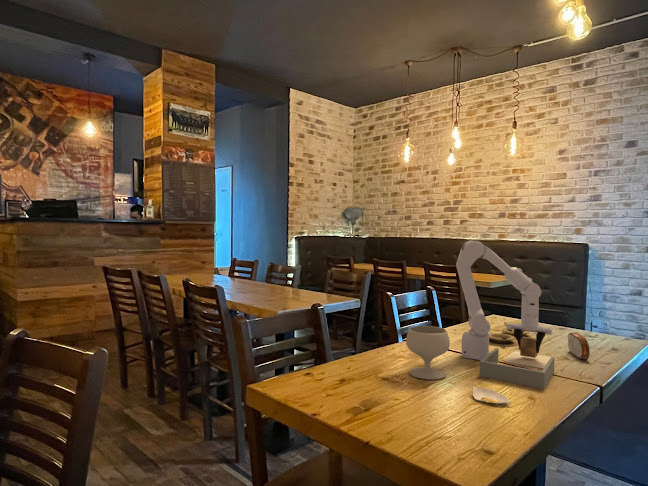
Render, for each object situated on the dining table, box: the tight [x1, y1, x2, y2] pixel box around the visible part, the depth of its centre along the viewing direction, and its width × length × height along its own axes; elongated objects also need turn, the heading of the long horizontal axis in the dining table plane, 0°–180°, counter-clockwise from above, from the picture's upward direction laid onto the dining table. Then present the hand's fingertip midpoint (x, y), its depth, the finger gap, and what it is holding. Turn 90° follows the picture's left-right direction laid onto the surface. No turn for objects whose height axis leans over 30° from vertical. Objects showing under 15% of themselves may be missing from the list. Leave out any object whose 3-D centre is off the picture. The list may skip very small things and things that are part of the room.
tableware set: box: [489, 321, 533, 351], centre depth 188 cm, size 30×20×6 cm, turn 135°
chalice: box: [405, 325, 451, 381], centre depth 140 cm, size 14×14×15 cm
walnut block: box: [519, 337, 539, 358], centre depth 157 cm, size 5×5×6 cm
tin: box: [567, 332, 591, 360], centre depth 163 cm, size 15×3×8 cm, turn 168°
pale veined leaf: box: [472, 385, 513, 405], centre depth 119 cm, size 8×12×2 cm, turn 39°
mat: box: [503, 350, 552, 370], centre depth 157 cm, size 14×16×1 cm
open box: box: [479, 347, 555, 390], centre depth 141 cm, size 19×20×5 cm
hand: (529, 351), depth 157 cm, fingers closed on walnut block, 5 cm apart
